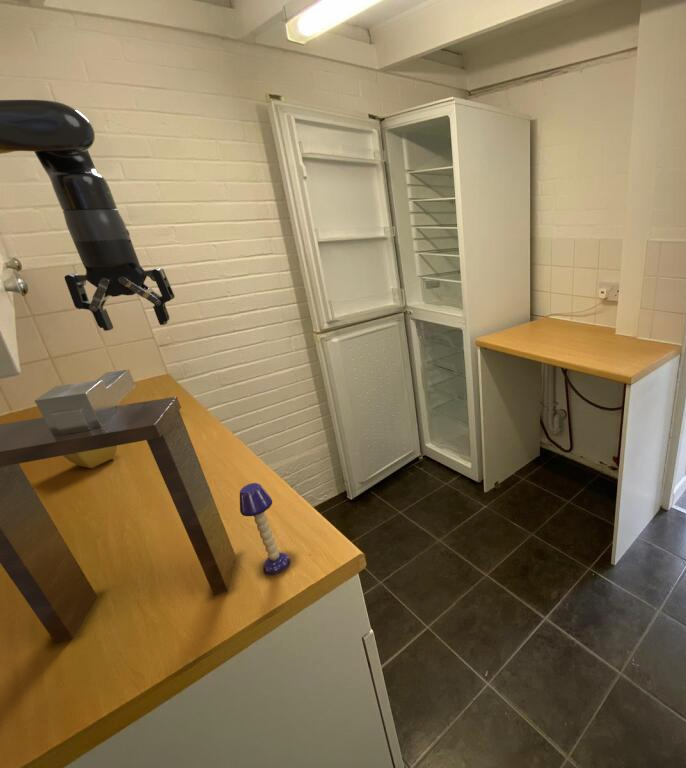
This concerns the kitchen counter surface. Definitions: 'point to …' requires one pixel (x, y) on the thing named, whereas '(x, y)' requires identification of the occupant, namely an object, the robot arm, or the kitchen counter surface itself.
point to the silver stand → (84, 402)
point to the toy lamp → (263, 525)
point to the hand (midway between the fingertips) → (137, 326)
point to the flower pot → (92, 457)
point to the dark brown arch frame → (43, 540)
